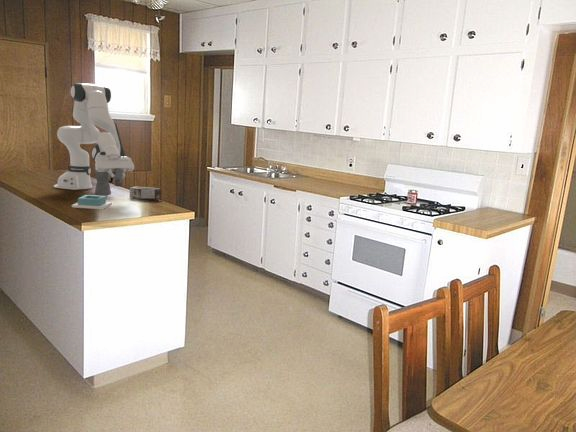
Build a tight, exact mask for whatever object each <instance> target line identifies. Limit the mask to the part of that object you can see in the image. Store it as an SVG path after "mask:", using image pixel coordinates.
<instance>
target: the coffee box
mask: <svg viewBox="0 0 576 432" xmlns="http://www.w3.org/2000/svg"><path fill="white" fill-rule="evenodd" d="M129 198H131V199H137V200H138V199H139V200H144V201H154V202H155V201H159V200H161V199H162V188H157V187H148V186H140V185H136V186H132V187H130V188H129Z"/></svg>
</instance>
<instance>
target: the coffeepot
mask: <svg viewBox="0 0 576 432" xmlns="http://www.w3.org/2000/svg"><path fill="white" fill-rule="evenodd" d="M93 170H94V175H95V179H96V183H95V190H94V195H99V196H106V195H107V196H108V195H111V193H112V191H111V186H110V183H113V180H114V178H112V176H111V175H110V174H109V173H108V172H98V171H97V170H96V167H95V168H93ZM112 173H115V172H112Z"/></svg>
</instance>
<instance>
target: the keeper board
mask: <svg viewBox="0 0 576 432" xmlns="http://www.w3.org/2000/svg"><path fill="white" fill-rule="evenodd" d="M111 205H113V203H112V201H107V196H106V195H98V194H94V195H93V194H84V195H82V196H80V197H77V202H75V203H74V204H71V208H74V209H75V208H76V209H77V208H78V209H92V210H105V209H106V208H108V207H110V206H111ZM104 208H105V209H104Z"/></svg>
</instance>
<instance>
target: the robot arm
mask: <svg viewBox="0 0 576 432" xmlns="http://www.w3.org/2000/svg"><path fill="white" fill-rule="evenodd" d="M70 95H71V98H72V99H73V100H74V104H73V110H72V117H73V119H74V120H75V121H76V122H77V123H79V125H63V126H60V127H59V128H58V129H57V132H56V135H57V136H56V137H57V139H58V140H59V142H61V143H62V144H63V145H64V146H65V147H66V149H67V150H68V153H69V158H70V159H69V160H70V161H69V163H70V164H69V165H68V166H66V169H67V171H66V172H64V173H62V174H61V175H60V176H59V177H58V179H57V184H54V185H53V188H54V189H64V190H74V191H75V190H88V189H93V185H92V180H91V172H92V171H91V166H90V155H91V159H92V160H93V162H95V163H94V167H95V168H96V170H97V171H98V172H108V173H109V174H110V177H111V176H112V178H113V179H115V177H116V175H115V169H123V171H122V179H123V178H126V172H133V171H134V169H135V164H134V162H133V160H132V158H131V157H129V156H127V155H126V151H125V149H124V146H123V144H122V140H121V137H120V132H119V129H118V126H117V123H116V121H115V120H114V119H113V118H112V116H111V115H110V111H109V102H110V101H111V98H112V92H111V90H110V87H107V86H105V85H100V84H94V83H80V82H75V83H73V84H72V85H71V88H70ZM97 127H98V128H97ZM99 128H100V129H102V130H104V131H103V132H101V131H100V129H99ZM82 144H83V145H92V144H95V145H94V146H93V148H91V152H90V154H89V152H88V151H86V150H85V149H83V148H81V145H82ZM112 172H114V173H112Z"/></svg>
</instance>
